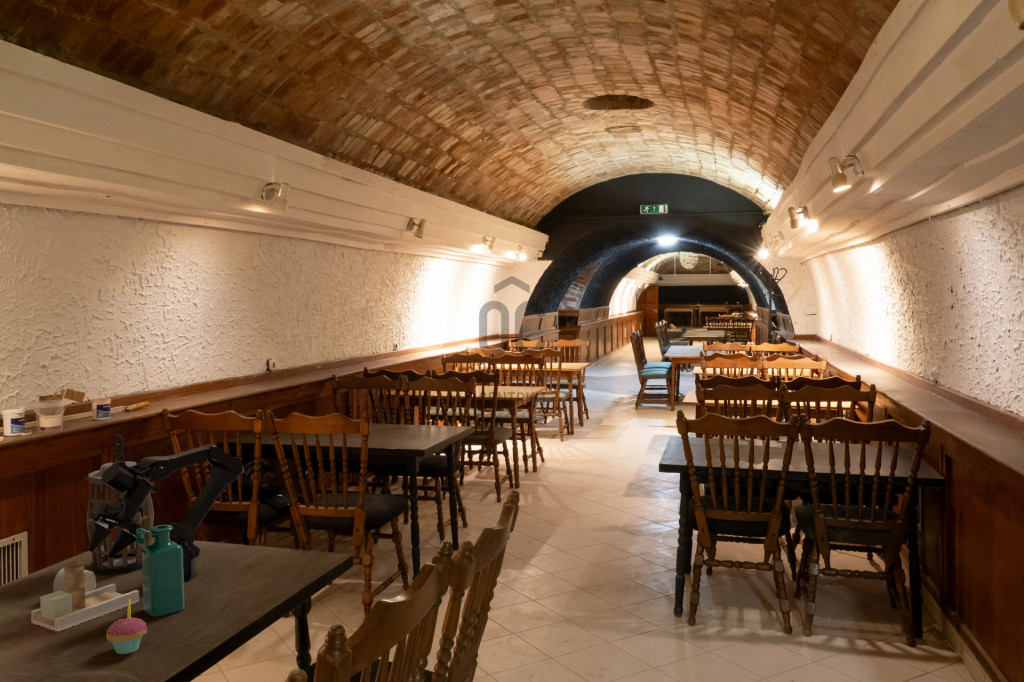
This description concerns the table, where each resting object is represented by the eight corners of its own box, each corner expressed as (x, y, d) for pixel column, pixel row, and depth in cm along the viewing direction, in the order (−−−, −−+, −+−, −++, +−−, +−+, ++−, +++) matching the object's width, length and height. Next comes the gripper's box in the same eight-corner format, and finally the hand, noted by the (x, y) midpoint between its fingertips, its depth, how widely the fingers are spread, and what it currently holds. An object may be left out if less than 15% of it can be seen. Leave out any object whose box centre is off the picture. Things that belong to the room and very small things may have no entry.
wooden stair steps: (106, 595, 216) (105, 549, 215) (124, 600, 212) (123, 553, 211) (37, 619, 200) (35, 569, 199) (55, 625, 196) (53, 575, 195)
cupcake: (116, 642, 189) (114, 592, 188) (153, 641, 190) (152, 591, 189) (100, 659, 180) (98, 606, 180) (139, 657, 181) (138, 605, 180)
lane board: (113, 594, 219) (113, 583, 219) (139, 601, 214) (138, 590, 214) (31, 623, 200) (31, 611, 200) (57, 632, 195) (57, 620, 194)
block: (60, 609, 203) (60, 590, 203) (72, 613, 201) (71, 593, 201) (40, 616, 199) (40, 596, 199) (52, 620, 197) (52, 600, 196)
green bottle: (173, 600, 214) (171, 519, 213) (187, 609, 208) (184, 525, 207) (135, 611, 208) (133, 527, 206) (148, 620, 201) (145, 534, 200)
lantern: (171, 557, 250) (167, 429, 248) (128, 578, 231) (123, 440, 229) (117, 553, 254) (113, 427, 252) (70, 573, 236) (65, 438, 233)
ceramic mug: (82, 602, 214) (82, 573, 213) (52, 601, 214) (51, 573, 214) (104, 588, 224) (103, 560, 224) (75, 587, 225) (75, 560, 224)
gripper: (90, 482, 218) (55, 535, 211) (129, 491, 208) (94, 547, 200) (121, 500, 226) (89, 552, 218) (161, 510, 215) (128, 565, 208)
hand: (99, 554), depth 211 cm, fingers open, 9 cm apart
